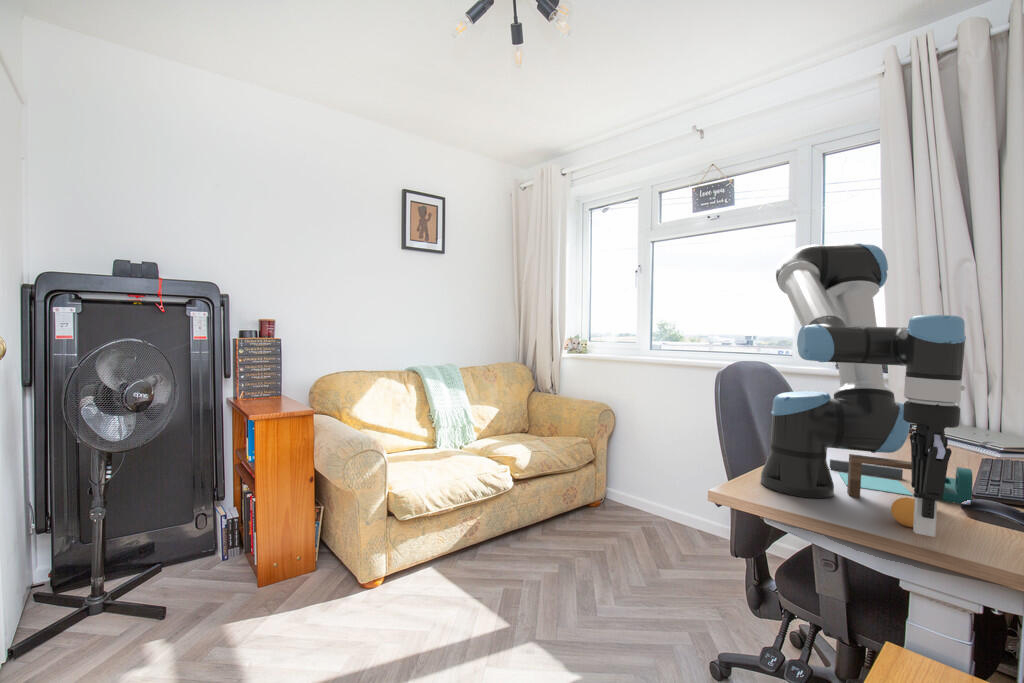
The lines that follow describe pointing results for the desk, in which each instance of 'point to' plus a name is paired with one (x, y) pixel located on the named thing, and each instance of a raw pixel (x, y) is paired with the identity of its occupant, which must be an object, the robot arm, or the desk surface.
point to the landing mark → (879, 484)
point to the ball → (904, 511)
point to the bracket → (958, 486)
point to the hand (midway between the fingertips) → (923, 533)
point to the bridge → (856, 468)
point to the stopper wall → (869, 469)
